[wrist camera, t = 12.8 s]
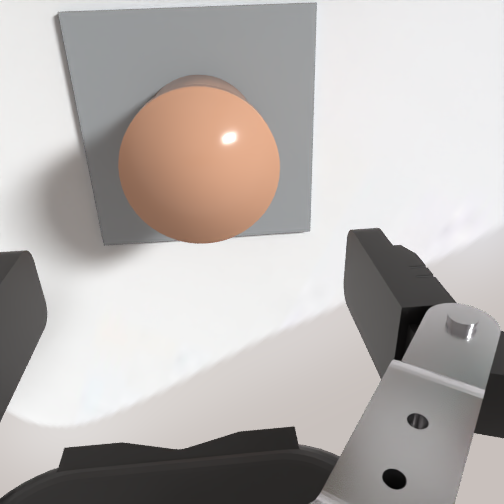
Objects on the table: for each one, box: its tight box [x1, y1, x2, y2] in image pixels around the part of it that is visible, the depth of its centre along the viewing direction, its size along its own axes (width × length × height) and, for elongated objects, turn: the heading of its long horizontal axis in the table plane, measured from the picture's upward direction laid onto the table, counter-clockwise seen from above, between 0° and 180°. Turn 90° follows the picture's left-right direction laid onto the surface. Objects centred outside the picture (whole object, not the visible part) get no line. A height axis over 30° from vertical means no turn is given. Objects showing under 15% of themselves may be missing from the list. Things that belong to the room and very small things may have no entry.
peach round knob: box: [118, 75, 280, 243], centre depth 22 cm, size 7×7×6 cm
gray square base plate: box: [58, 3, 317, 245], centre depth 25 cm, size 12×12×1 cm
